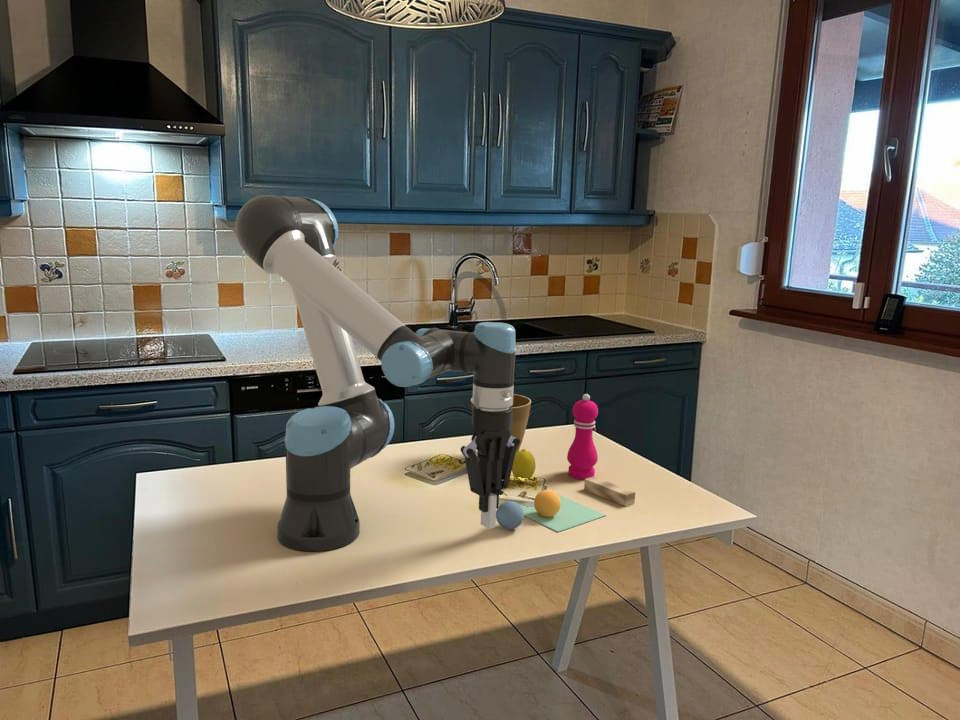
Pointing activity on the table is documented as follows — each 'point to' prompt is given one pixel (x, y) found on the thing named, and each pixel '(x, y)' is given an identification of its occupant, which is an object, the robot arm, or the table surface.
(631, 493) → the bar
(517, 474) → the lemon
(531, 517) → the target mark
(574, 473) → the pepper mill
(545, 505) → the orange ball
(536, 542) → the table surface
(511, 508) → the blue ball
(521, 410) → the plant pot
